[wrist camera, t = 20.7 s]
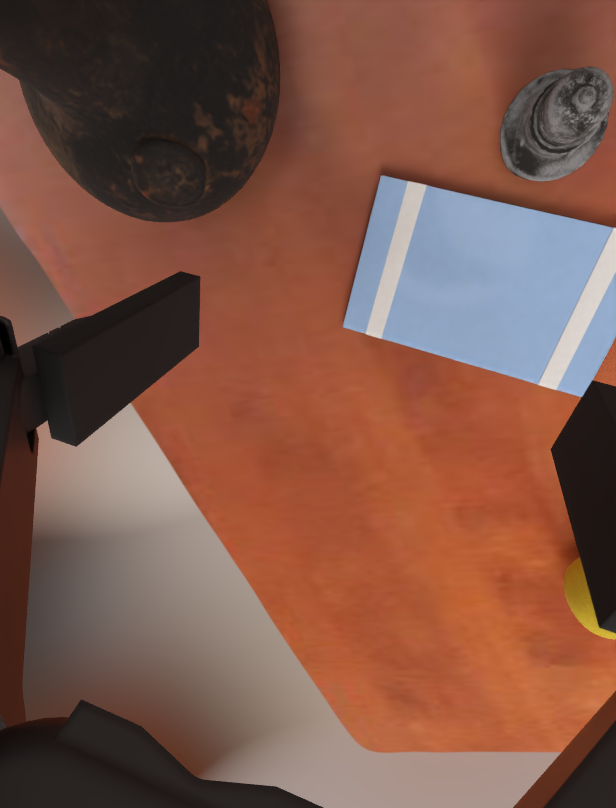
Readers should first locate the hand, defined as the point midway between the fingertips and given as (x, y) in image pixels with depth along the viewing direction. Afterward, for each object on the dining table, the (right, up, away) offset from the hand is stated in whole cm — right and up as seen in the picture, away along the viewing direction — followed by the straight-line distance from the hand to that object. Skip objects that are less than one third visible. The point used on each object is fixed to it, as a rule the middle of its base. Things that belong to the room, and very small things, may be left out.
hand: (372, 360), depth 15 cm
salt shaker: (+14, +17, +15) cm, 27 cm away
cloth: (+12, +8, +20) cm, 24 cm away
